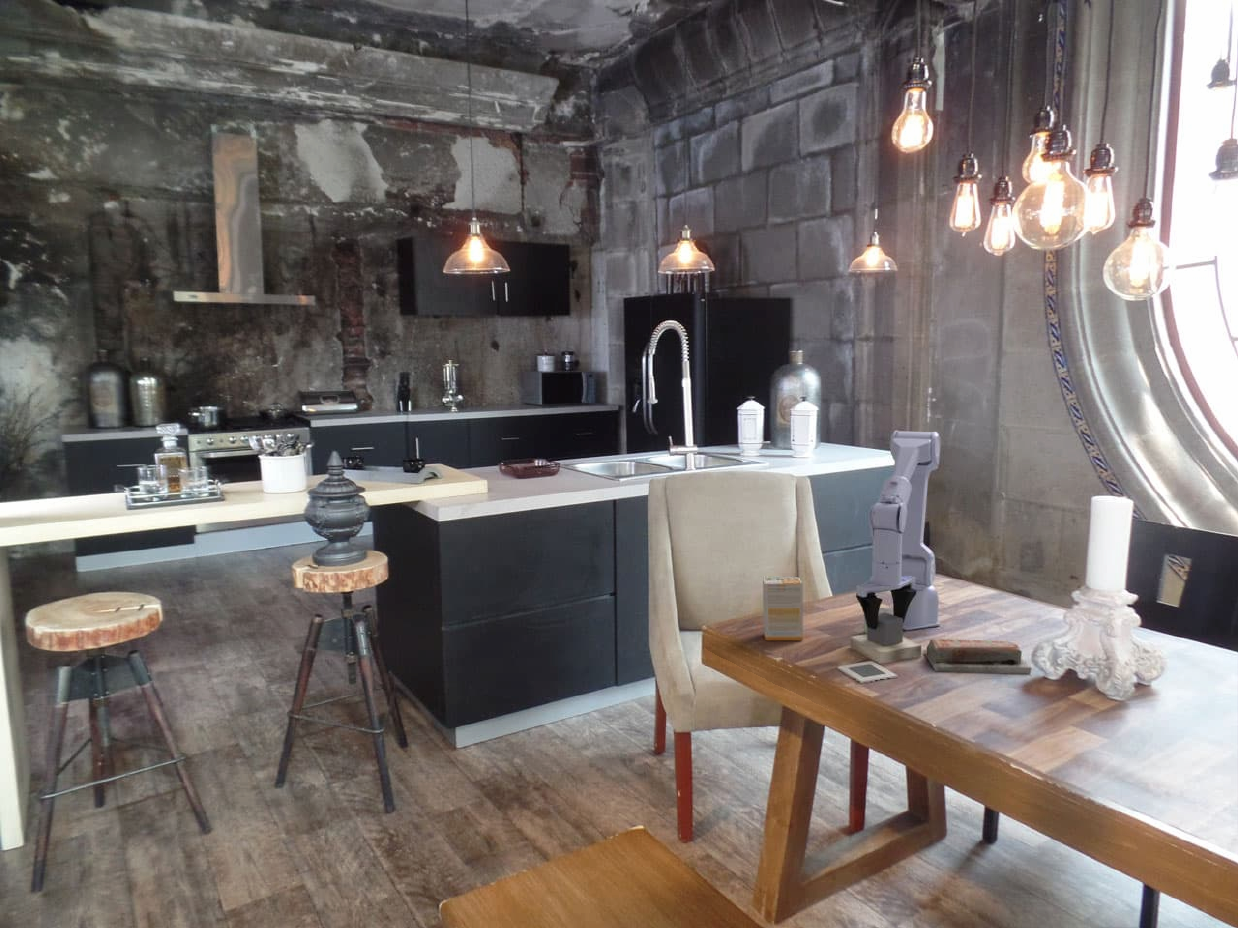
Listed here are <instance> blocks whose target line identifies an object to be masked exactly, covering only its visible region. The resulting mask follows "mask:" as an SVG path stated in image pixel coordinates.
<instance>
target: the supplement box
mask: <svg viewBox="0 0 1238 928" xmlns="http://www.w3.org/2000/svg"><path fill="white" fill-rule="evenodd" d="M762 579H763V580H762V585H763V587H762V589H763V591H762V593H763V594H762V595H763V596H762V598H763V600H762V601H763V604H762V605H763V635H764V638H765V641H803V640H804V634H803V633H804V630H803V629H804V625H803V623H804V621H803V620H804V619H803V618H804V617H803V615H804V614H803V613H804V611H803V609H804V608H803V602H804V601H803V598H804V597H803V596H804V595H803V593H804V592H803V590H804V589H803V587H804V586H803V582H802V580H801V577H763V578H762Z"/></svg>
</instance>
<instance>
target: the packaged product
mask: <svg viewBox="0 0 1238 928" xmlns="http://www.w3.org/2000/svg"><path fill="white" fill-rule="evenodd" d="M1022 652H1023V651H1022V650H1021V649H1020V647H1019V645H1018V644H1017V643H1015V642H1010V641H1007V640H984V639H983V640H980V639H959V638H958V639H953V638H931V639H930V640H929V643H928V644H927V645H926V649H924V650H923V653H924V654H923V655H924V656H925V657H926V659H927V661H928V662H929V664H930V665H931V666H932V668H933V669H934V671H935V672H953V673H955V672H957V673H979V674H980V673H984V674H1031V672H1032V669H1033V668H1032V667H1031V665H1029V664H1028V663H1027V662H1026V661H1024V660H1023V658H1022V654H1023V653H1022Z"/></svg>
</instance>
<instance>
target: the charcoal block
mask: <svg viewBox="0 0 1238 928" xmlns="http://www.w3.org/2000/svg"><path fill="white" fill-rule="evenodd" d="M866 634H867V640H869V641H872V642H874V643H877V644H879V645H882V646H884V647H886V646H889V645H893V644H897V643H900V642H903V637H904V629H903V618H900V617H897V616H894V615H892V614H889V613H886V612H883V613H879V614H878V625H877V629H875V630H874V629H871V628H868V627H867V633H866Z"/></svg>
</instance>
